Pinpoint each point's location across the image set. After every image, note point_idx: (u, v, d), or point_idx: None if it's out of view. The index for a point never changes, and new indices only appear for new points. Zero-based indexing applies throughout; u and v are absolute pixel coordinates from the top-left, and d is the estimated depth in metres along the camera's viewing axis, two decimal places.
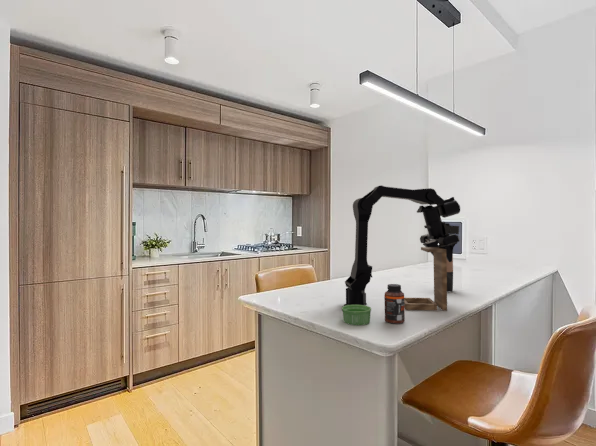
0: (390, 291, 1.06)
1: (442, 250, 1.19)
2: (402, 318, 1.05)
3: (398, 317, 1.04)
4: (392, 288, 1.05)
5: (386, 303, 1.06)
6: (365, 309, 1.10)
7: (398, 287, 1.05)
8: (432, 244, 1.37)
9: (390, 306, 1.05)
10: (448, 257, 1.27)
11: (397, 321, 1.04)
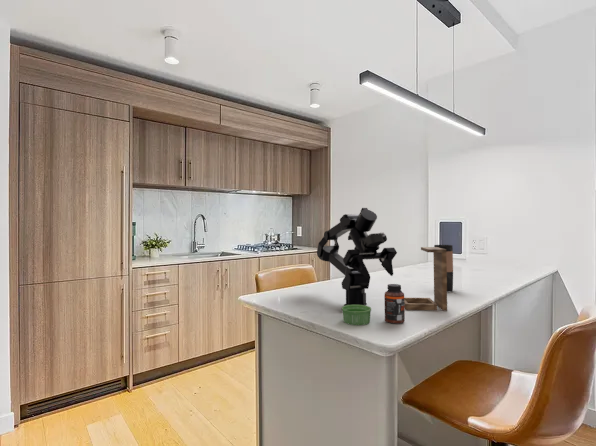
0: (390, 291, 1.06)
1: (442, 250, 1.19)
2: (402, 318, 1.05)
3: (398, 317, 1.04)
4: (392, 288, 1.05)
5: (386, 303, 1.06)
6: (365, 309, 1.10)
7: (398, 287, 1.05)
8: (384, 261, 1.20)
9: (390, 306, 1.05)
10: (363, 273, 1.13)
11: (397, 321, 1.04)
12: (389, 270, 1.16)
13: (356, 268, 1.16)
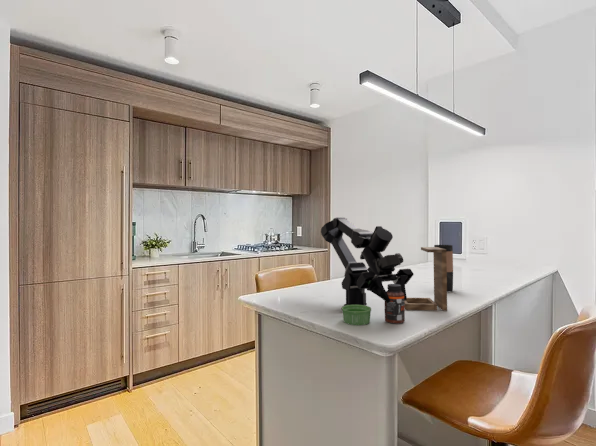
0: (390, 291, 1.06)
1: (442, 250, 1.19)
2: (402, 318, 1.05)
3: (398, 317, 1.04)
4: (392, 288, 1.05)
5: (386, 303, 1.06)
6: (365, 309, 1.10)
7: (398, 287, 1.05)
8: None
9: (390, 306, 1.05)
10: (382, 298, 1.06)
11: (397, 321, 1.04)
12: None
13: (375, 291, 1.08)
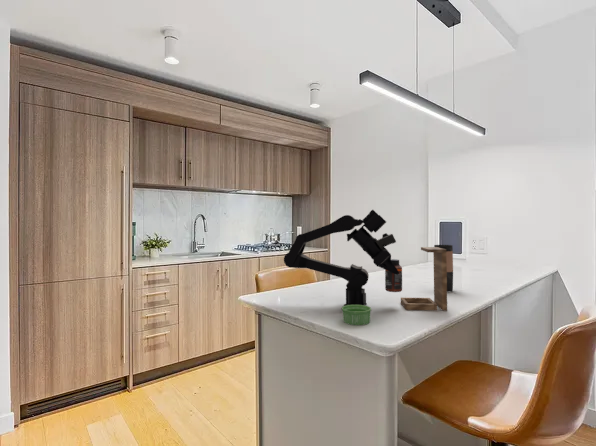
0: (395, 265, 1.24)
1: (442, 250, 1.19)
2: None
3: None
4: (397, 262, 1.24)
5: (394, 275, 1.23)
6: (365, 309, 1.10)
7: None
8: None
9: (398, 277, 1.23)
10: (392, 271, 1.22)
11: (401, 289, 1.24)
12: None
13: (384, 267, 1.22)
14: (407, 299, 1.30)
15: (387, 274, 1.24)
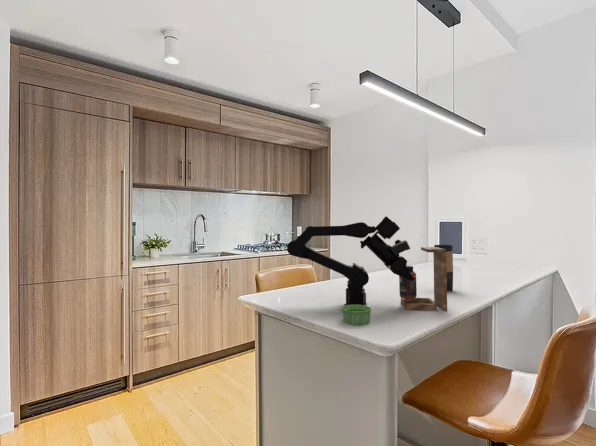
0: (410, 271, 1.24)
1: (442, 250, 1.19)
2: None
3: (416, 292, 1.25)
4: (411, 268, 1.25)
5: (409, 282, 1.23)
6: (365, 309, 1.10)
7: None
8: None
9: (413, 284, 1.23)
10: (408, 278, 1.22)
11: (416, 295, 1.25)
12: None
13: (400, 274, 1.22)
14: (407, 299, 1.30)
15: (402, 281, 1.25)
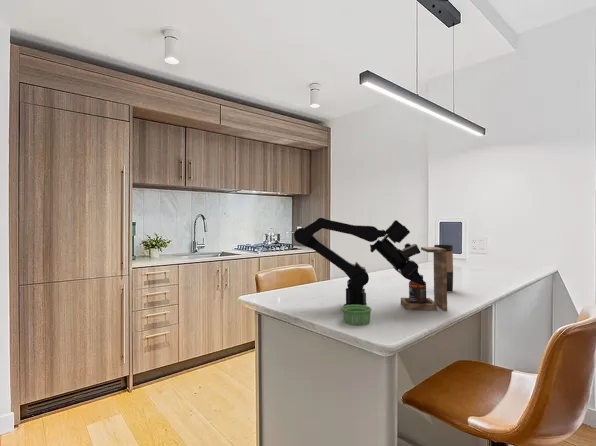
0: None
1: (442, 250, 1.19)
2: None
3: None
4: (422, 277, 1.24)
5: (419, 291, 1.23)
6: (365, 309, 1.10)
7: None
8: None
9: (423, 293, 1.23)
10: (419, 282, 1.20)
11: None
12: None
13: (411, 278, 1.20)
14: (407, 299, 1.30)
15: (412, 290, 1.24)
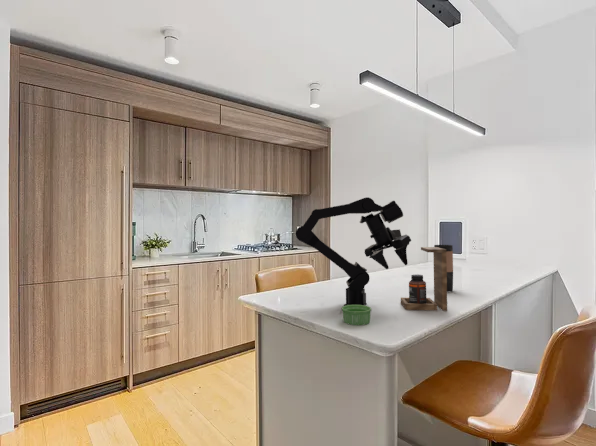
0: (420, 280, 1.24)
1: (442, 250, 1.19)
2: None
3: None
4: (421, 277, 1.24)
5: (419, 291, 1.23)
6: (365, 309, 1.10)
7: None
8: (378, 254, 1.32)
9: (423, 293, 1.23)
10: (404, 260, 1.23)
11: None
12: (385, 264, 1.32)
13: (401, 253, 1.22)
14: (407, 299, 1.30)
15: (412, 290, 1.24)
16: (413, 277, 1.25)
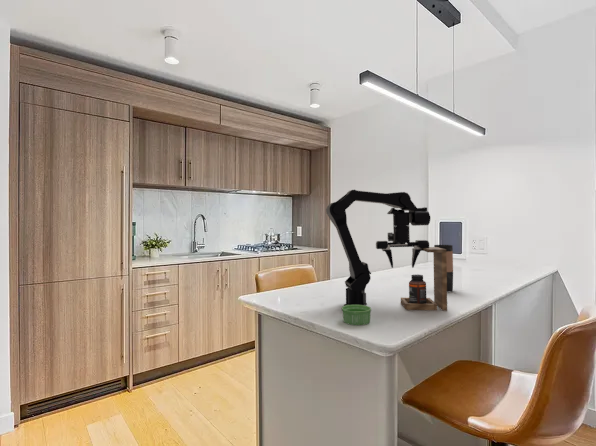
0: (420, 280, 1.24)
1: (442, 250, 1.19)
2: None
3: None
4: (422, 277, 1.24)
5: (419, 291, 1.23)
6: (365, 309, 1.10)
7: None
8: None
9: (423, 293, 1.23)
10: None
11: None
12: (392, 262, 1.31)
13: None
14: (407, 299, 1.30)
15: (412, 290, 1.24)
16: (413, 277, 1.25)
